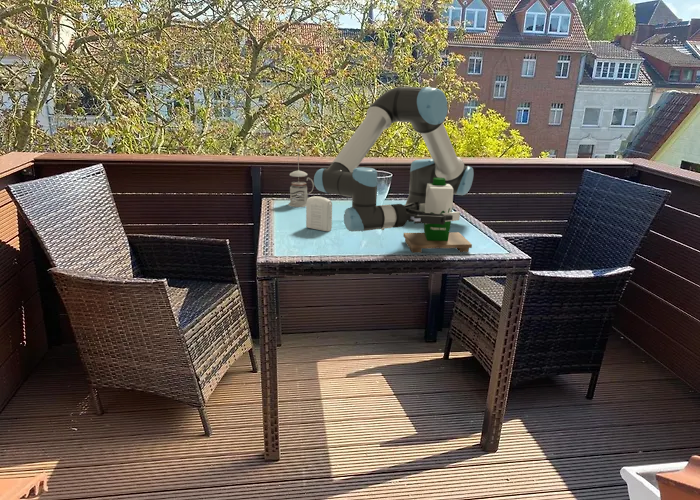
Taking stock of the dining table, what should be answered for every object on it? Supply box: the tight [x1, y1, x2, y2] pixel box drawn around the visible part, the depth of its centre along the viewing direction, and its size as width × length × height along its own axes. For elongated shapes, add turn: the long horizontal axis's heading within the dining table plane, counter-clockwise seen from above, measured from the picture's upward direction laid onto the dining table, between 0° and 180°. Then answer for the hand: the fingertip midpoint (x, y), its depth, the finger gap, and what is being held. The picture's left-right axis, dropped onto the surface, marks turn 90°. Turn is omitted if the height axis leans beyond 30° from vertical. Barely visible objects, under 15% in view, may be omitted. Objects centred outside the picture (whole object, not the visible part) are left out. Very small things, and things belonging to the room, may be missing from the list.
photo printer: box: [305, 195, 333, 232], centre depth 184 cm, size 10×4×12 cm, turn 61°
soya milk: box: [423, 177, 454, 241], centre depth 165 cm, size 9×9×20 cm
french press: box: [287, 148, 315, 208], centre depth 219 cm, size 10×12×25 cm
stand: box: [402, 231, 473, 254], centre depth 168 cm, size 20×14×3 cm
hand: (447, 211), depth 166 cm, fingers open, 13 cm apart
